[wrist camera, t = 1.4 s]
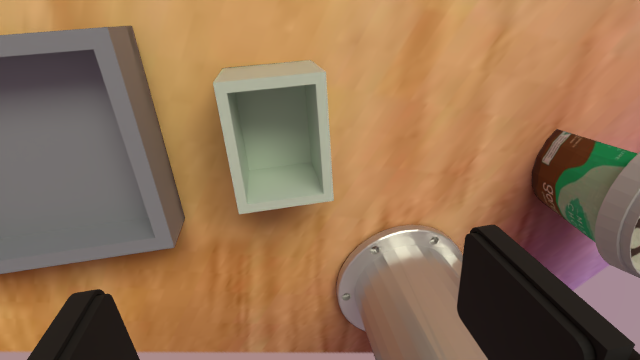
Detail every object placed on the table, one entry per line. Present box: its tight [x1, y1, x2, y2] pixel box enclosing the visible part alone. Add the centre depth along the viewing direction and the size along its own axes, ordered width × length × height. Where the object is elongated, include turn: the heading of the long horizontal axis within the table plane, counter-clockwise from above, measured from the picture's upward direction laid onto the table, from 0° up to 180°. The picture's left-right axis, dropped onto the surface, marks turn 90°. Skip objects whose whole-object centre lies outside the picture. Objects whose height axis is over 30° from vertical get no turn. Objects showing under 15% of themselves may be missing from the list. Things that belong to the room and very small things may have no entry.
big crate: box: [0, 26, 185, 274], centre depth 22 cm, size 16×14×4 cm
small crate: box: [213, 60, 334, 214], centre depth 23 cm, size 6×8×6 cm
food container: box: [532, 129, 640, 278], centre depth 28 cm, size 12×6×10 cm, turn 49°
